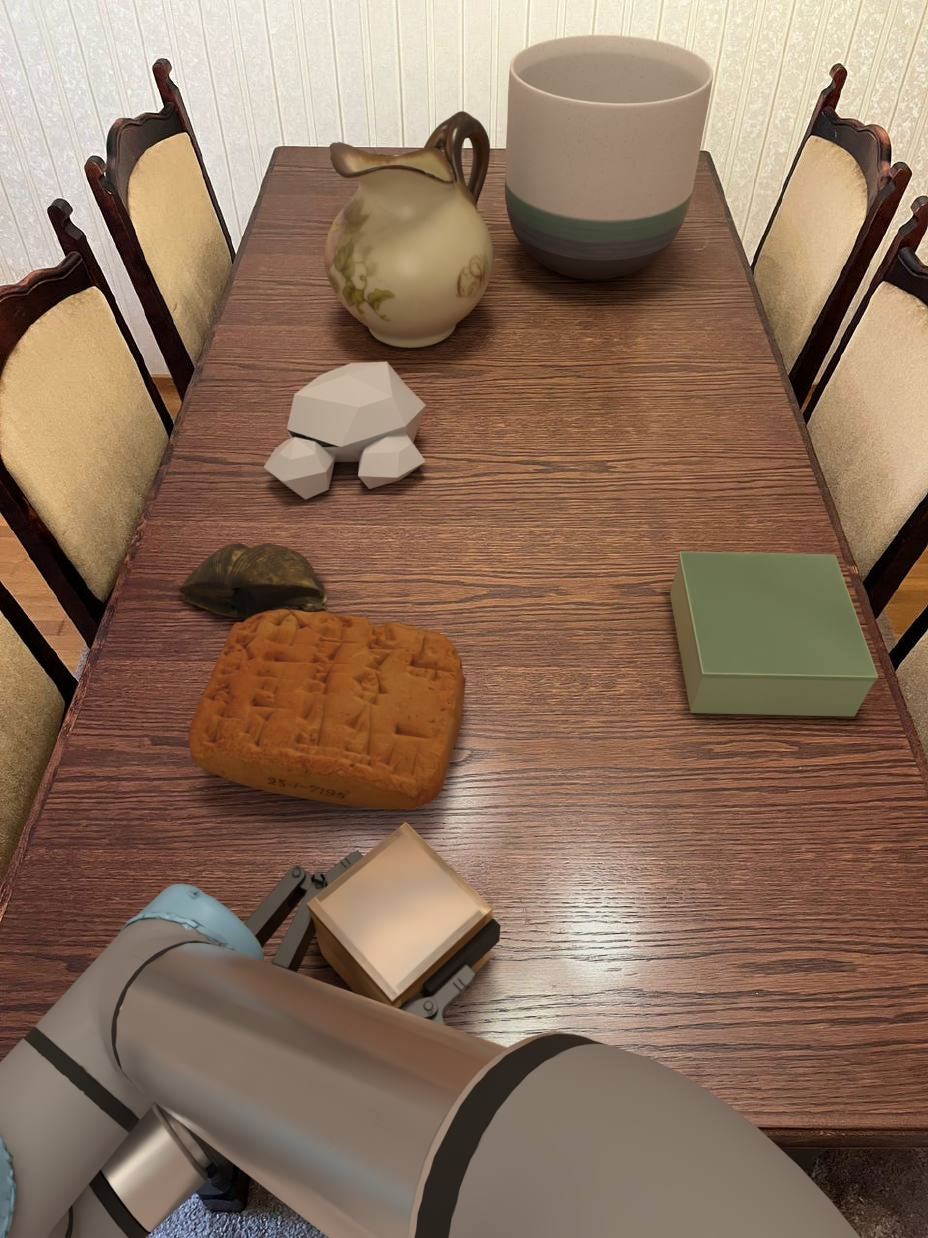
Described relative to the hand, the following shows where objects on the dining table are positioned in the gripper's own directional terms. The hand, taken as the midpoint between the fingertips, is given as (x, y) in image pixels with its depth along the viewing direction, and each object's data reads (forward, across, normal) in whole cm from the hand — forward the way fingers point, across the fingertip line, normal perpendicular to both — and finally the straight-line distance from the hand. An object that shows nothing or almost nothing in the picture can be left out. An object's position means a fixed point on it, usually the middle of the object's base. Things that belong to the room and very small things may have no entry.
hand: (448, 882), depth 66 cm
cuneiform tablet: (+4, -19, -6) cm, 21 cm away
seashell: (+9, -38, -6) cm, 40 cm away
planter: (+86, -61, -6) cm, 106 cm away
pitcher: (+55, -67, -6) cm, 87 cm away
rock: (+30, -50, -6) cm, 59 cm away
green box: (+40, +1, -6) cm, 40 cm away
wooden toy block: (-5, 0, -6) cm, 8 cm away
